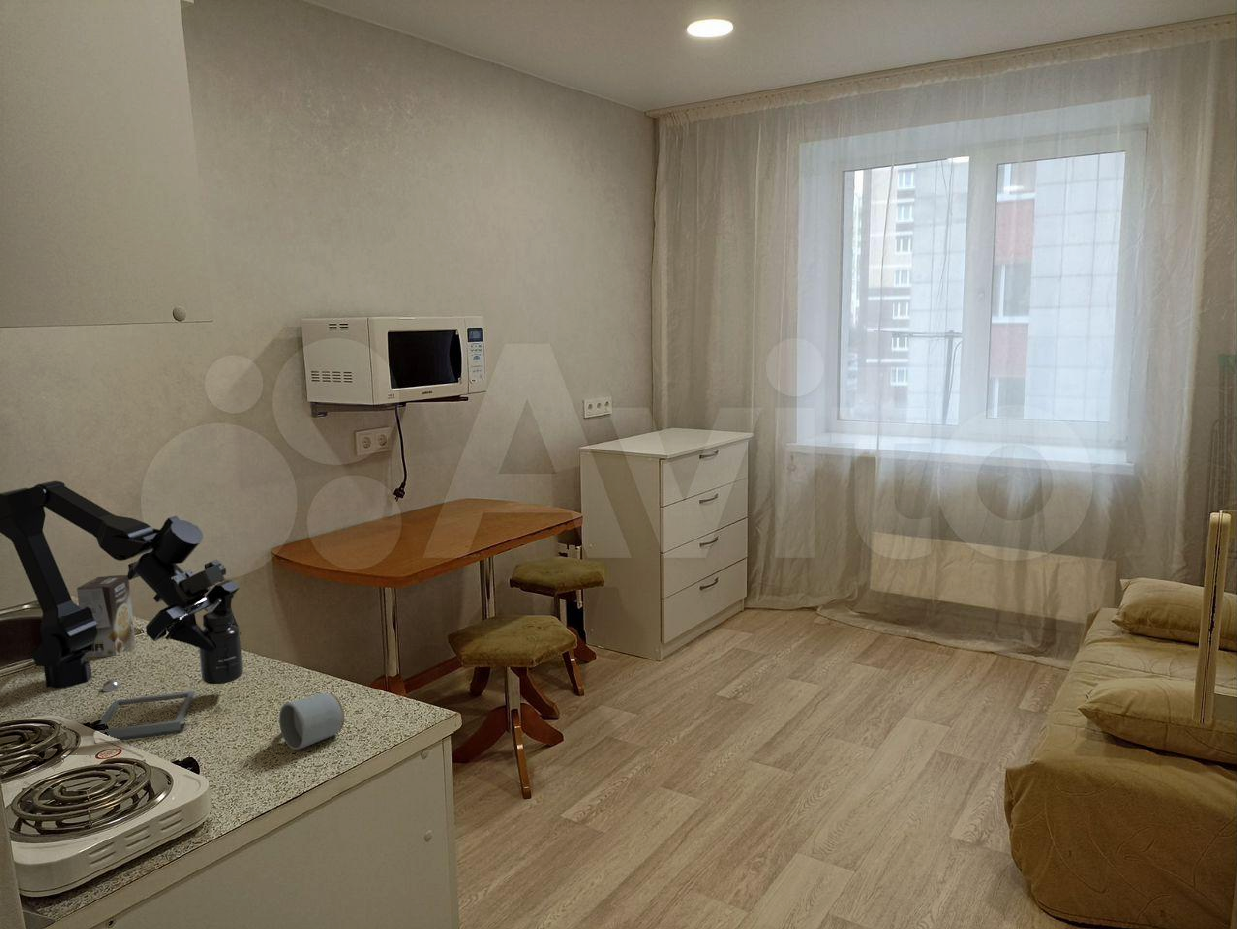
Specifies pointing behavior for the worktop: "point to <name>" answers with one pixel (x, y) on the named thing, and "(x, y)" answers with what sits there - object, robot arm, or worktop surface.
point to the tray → (152, 728)
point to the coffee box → (109, 614)
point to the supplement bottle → (221, 649)
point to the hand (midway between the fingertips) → (226, 642)
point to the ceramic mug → (310, 720)
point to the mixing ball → (111, 686)
